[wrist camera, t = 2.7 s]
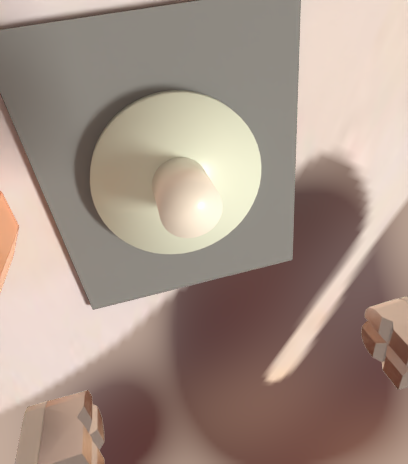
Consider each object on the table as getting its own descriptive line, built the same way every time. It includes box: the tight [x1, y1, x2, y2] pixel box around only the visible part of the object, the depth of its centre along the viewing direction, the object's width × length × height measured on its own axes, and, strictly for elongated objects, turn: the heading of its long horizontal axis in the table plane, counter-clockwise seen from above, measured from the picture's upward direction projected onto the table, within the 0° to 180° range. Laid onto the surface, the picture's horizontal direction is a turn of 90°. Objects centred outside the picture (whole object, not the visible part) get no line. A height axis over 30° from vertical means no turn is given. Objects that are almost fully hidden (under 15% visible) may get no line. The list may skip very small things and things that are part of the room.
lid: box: [90, 90, 261, 254], centre depth 18 cm, size 9×9×4 cm
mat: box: [0, 0, 301, 310], centre depth 20 cm, size 14×16×1 cm
